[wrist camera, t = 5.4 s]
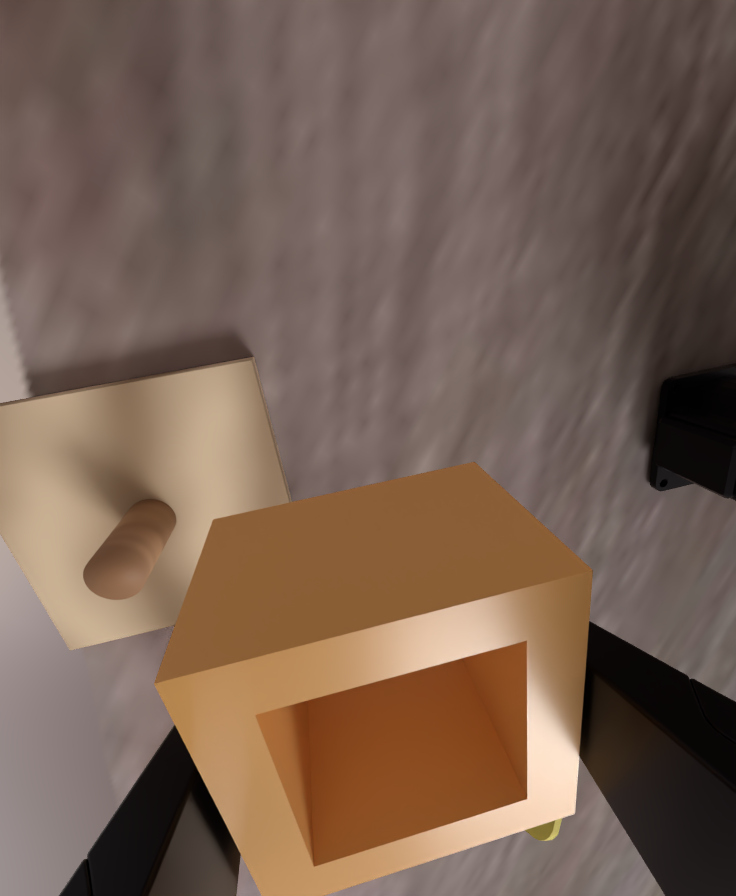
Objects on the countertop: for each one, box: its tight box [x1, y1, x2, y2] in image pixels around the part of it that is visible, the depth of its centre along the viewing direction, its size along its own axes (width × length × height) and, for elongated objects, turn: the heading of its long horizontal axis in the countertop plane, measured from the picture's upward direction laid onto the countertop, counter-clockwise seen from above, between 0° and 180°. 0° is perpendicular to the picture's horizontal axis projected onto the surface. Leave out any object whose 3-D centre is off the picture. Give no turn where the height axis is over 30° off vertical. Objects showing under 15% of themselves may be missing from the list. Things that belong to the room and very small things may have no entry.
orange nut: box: [154, 462, 593, 896], centre depth 8 cm, size 6×6×4 cm
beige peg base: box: [0, 357, 292, 650], centre depth 16 cm, size 12×12×5 cm
